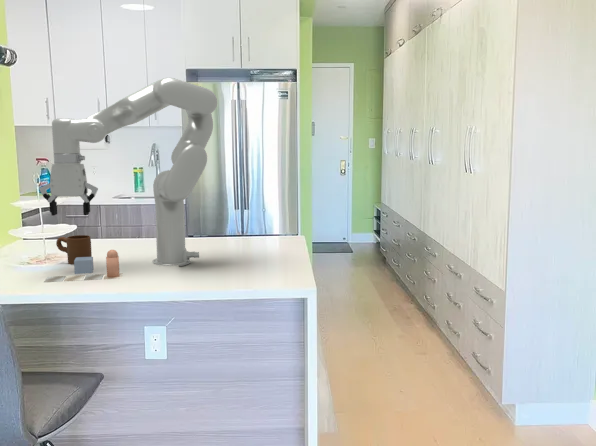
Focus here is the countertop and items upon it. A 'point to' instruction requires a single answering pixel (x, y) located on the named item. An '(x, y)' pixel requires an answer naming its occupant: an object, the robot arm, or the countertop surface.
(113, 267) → the pawn
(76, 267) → the light blue cube
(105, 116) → the robot arm
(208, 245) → the countertop surface
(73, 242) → the mug
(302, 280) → the countertop surface
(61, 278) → the track
